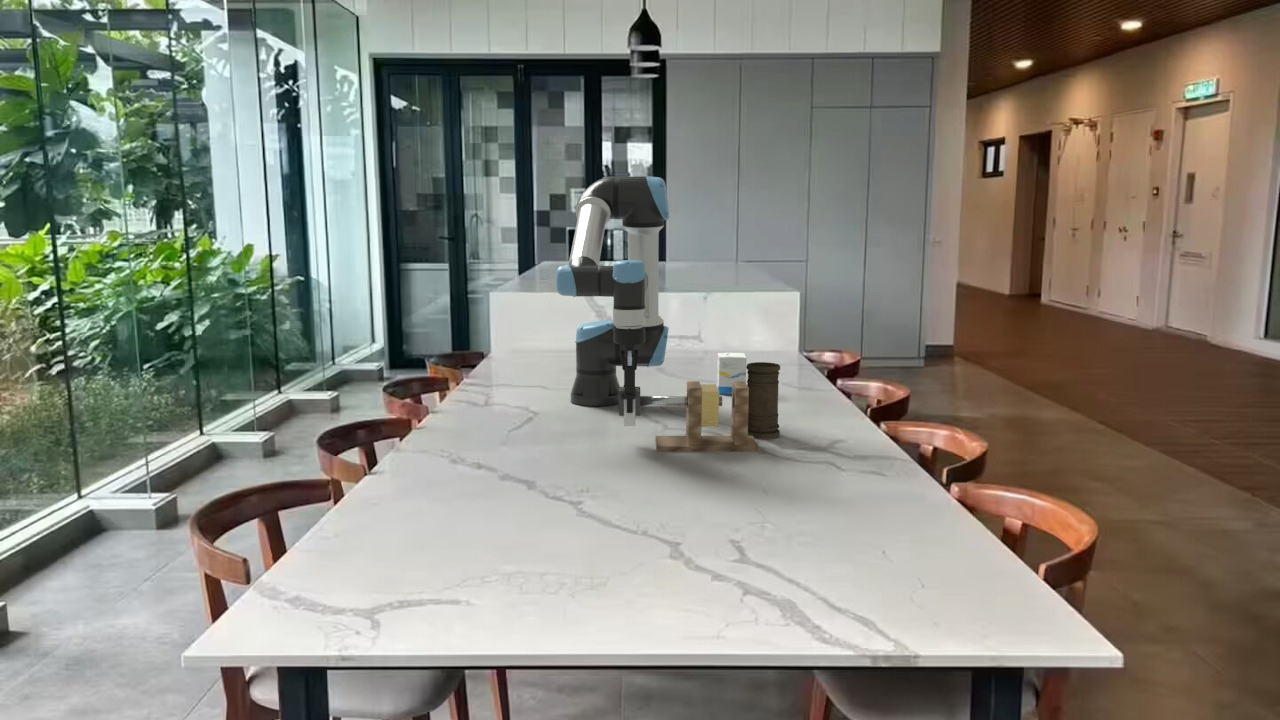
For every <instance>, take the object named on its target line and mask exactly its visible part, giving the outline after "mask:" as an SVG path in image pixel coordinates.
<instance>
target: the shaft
mask: <svg viewBox="0 0 1280 720" xmlns="http://www.w3.org/2000/svg"><path fill="white" fill-rule="evenodd" d="M624 394H625V387H624V386H620V387H619V403H618V416H620V417H624V399H621V397H624ZM635 395H636V397H635V417H640V416H641V407H687V406H688V396H687V395H682V396H681V395H641V386H635ZM719 407H723V396H722V395H719Z"/></svg>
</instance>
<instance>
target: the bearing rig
mask: <svg viewBox="0 0 1280 720" xmlns="http://www.w3.org/2000/svg"><path fill="white" fill-rule="evenodd" d="M700 384H701V382H700V381H698V380H697V381H690V380H688V381H686V396H688V406H686V418H685V421H686V423H685V424H686V427H685V429H686V430H685V431H686V432H685V434H686V435H655V436H654V437H655V449H656V452H759V447H760V446H759V445H758V443H757V441H756V438H754V437H753V436H748V404H749V388H748V386H747V384H748V383H747V382H746V383H745V382H732V395H731V421H730V422H731V423H730V424H731V427H730V429H731V430H730V435H702V427H701V414H702V387H701V385H700Z"/></svg>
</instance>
